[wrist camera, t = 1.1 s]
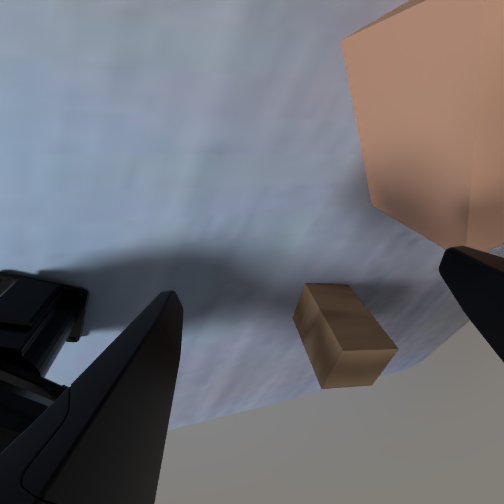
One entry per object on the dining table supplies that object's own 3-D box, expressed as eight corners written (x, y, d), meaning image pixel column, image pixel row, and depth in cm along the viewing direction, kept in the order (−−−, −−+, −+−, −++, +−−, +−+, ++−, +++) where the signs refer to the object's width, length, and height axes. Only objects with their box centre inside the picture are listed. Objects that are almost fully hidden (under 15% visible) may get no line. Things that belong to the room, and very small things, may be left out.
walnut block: (332, 318, 28) (371, 385, 21) (292, 318, 27) (321, 388, 20) (348, 284, 26) (398, 349, 19) (305, 283, 24) (343, 350, 18)
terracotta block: (371, 204, 21) (465, 261, 13) (340, 40, 15) (485, -28, 7) (426, 177, 20) (555, 220, 13) (418, -6, 14) (667, -132, 7)
